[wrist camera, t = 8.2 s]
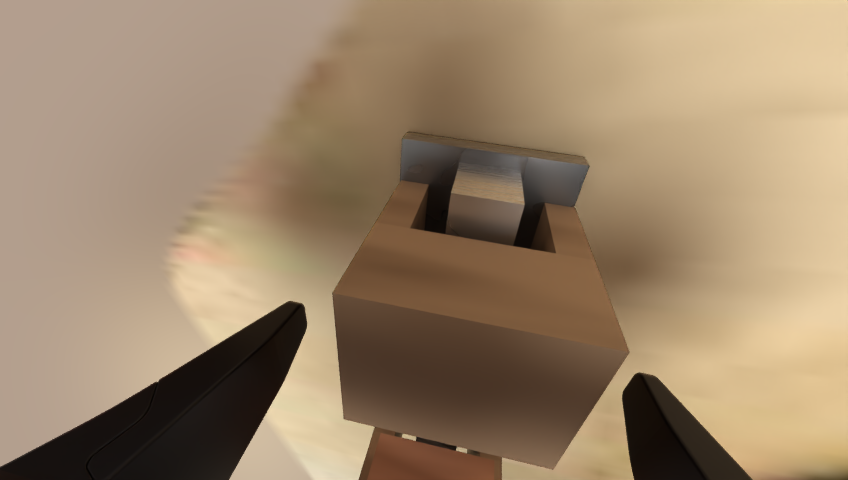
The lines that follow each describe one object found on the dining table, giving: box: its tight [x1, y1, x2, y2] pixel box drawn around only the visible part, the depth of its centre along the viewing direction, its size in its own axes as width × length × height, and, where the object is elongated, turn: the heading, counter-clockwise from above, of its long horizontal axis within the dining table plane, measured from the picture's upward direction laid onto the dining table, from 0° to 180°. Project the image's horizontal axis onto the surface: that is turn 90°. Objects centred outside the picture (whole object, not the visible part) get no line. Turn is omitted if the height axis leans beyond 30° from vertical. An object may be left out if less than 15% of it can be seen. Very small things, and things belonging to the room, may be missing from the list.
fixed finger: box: [359, 427, 502, 480], centre depth 17 cm, size 5×6×6 cm
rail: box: [400, 132, 589, 451], centre depth 15 cm, size 18×6×3 cm, turn 175°
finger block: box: [332, 180, 629, 469], centre depth 11 cm, size 5×6×6 cm
